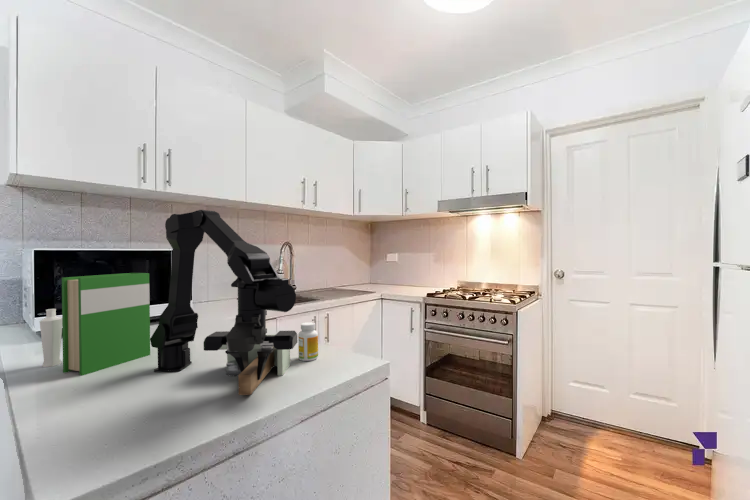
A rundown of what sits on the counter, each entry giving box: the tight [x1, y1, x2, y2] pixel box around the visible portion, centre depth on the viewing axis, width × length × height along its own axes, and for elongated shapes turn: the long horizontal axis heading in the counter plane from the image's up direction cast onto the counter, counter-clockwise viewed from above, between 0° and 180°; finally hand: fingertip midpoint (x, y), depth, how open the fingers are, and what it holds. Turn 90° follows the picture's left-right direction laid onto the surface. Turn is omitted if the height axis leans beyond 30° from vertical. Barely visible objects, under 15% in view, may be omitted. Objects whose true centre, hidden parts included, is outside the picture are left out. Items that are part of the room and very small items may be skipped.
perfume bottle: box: [39, 308, 63, 368], centre depth 93 cm, size 5×4×15 cm
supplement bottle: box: [297, 321, 319, 362], centre depth 97 cm, size 5×5×10 cm
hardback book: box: [61, 272, 151, 376], centre depth 95 cm, size 18×7×24 cm, turn 160°
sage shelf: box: [218, 344, 291, 377], centre depth 88 cm, size 16×8×8 cm, turn 91°
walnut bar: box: [238, 351, 275, 396], centre depth 80 cm, size 2×18×4 cm, turn 1°
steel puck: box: [225, 360, 241, 377], centre depth 87 cm, size 5×5×2 cm
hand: (252, 379), depth 76 cm, fingers closed on walnut bar, 2 cm apart
